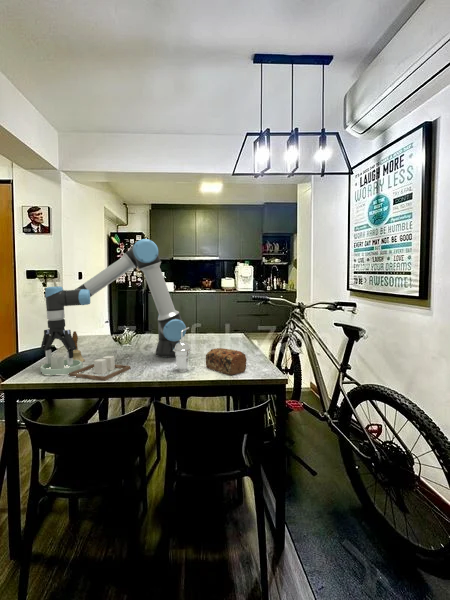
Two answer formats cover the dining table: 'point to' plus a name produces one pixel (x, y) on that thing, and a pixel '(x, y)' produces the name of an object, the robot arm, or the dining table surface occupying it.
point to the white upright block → (110, 362)
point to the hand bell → (76, 352)
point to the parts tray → (99, 376)
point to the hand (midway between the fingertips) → (59, 364)
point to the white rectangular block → (57, 362)
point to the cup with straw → (182, 354)
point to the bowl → (73, 367)
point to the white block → (100, 366)
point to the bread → (226, 361)
